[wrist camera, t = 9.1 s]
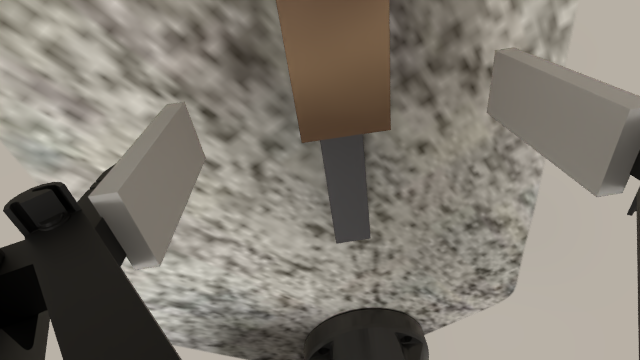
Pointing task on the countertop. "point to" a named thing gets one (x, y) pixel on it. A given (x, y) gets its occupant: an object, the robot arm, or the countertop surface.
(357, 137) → the rail
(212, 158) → the countertop surface
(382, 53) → the brown block
